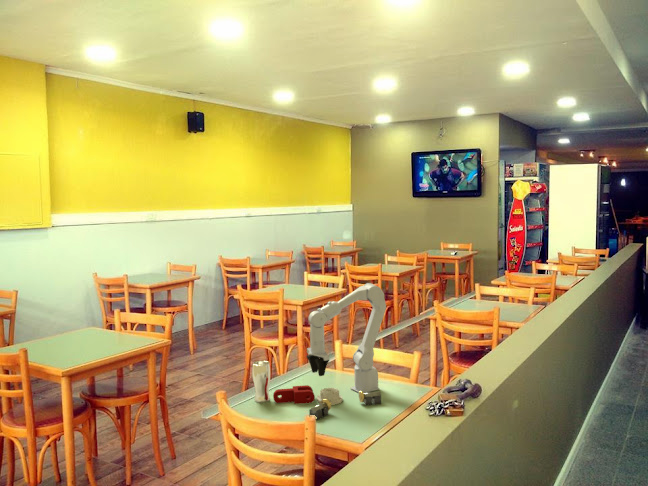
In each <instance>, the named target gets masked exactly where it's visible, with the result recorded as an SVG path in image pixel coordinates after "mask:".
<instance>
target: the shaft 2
mask: <svg viewBox="0 0 648 486" xmlns="http://www.w3.org/2000/svg"><path fill="white" fill-rule="evenodd" d="M358 400H359V403H364V405H365V406H373V404H374V405H378V406H379V405H382V393H381V391H371V392H366V393H363V391H359V392H358Z"/></svg>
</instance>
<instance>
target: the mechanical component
mask: <svg viewBox="0 0 648 486" xmlns="http://www.w3.org/2000/svg"><path fill="white" fill-rule="evenodd" d="M319 393H320V394H319V395H318V396H317V399H316V402H317V403H318V404H321V401H322V400H323V399H328V400H329V401H330V402H331V406H333V405H335V404H336V405H339V404H341V403H342V402H343V401H344V400H343V396H342V395H340V390H339V388H335V387H326V388H321V390H320V391H319Z"/></svg>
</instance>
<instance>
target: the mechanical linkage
mask: <svg viewBox="0 0 648 486" xmlns="http://www.w3.org/2000/svg"><path fill="white" fill-rule="evenodd" d="M279 396H280V397H279ZM272 397H273V401H274V403H276V404H285V403H286V404H287V403H293V404H294V405H301V404H312V403H313V402H314V401H315V399H316V398H315V397H316V396H315V394H314V390H313V387H311V386H310V385H308V384H307V385H294V386H292V388H280V389H276V390H275V391H274V392H273V395H272Z"/></svg>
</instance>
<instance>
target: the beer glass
mask: <svg viewBox="0 0 648 486" xmlns="http://www.w3.org/2000/svg"><path fill="white" fill-rule="evenodd" d="M252 381H253V385H254V390H255V391H254V392H255V394H254V401H255V402H257V403H267V402H269V401H270V400H271V397H270V391H269V389H270V382H271V366H270V362H269V361H267V360H258V361H254V362H253V363H252Z"/></svg>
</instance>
